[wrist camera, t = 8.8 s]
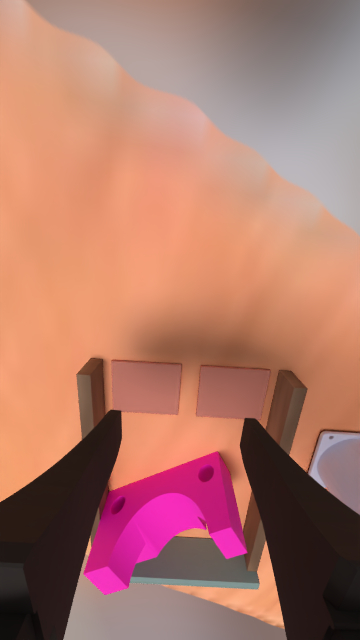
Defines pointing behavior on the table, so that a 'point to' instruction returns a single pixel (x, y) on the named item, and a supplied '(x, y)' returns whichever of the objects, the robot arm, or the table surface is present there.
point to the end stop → (195, 566)
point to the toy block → (163, 519)
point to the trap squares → (164, 385)
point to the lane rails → (278, 426)
